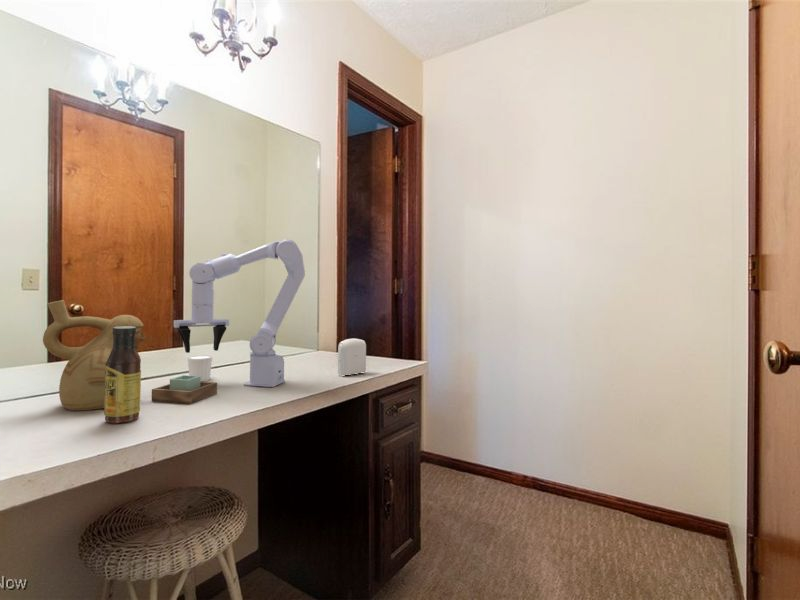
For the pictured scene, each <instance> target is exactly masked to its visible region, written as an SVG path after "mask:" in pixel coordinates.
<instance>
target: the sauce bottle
mask: <svg viewBox="0 0 800 600" xmlns="http://www.w3.org/2000/svg"><path fill="white" fill-rule="evenodd" d="M135 334H136V327H133V326H118V327H114V328H113V335H114V338H113V348H112V351H111V353H110V355H109V358H108V360H107V363H106V365H105V404H104V408H103V410H104V411H103V412H104V420H105V422H106V423H109V424H113V425H115V424H124V423H129V422H133V421H135V420H138V418H139V417H140V411H141V387H142V386H141V384H142V370H141V363H142V362H141V361H142V359H141V356H140V354H139V352H137V350H135V348H134V347H135Z"/></svg>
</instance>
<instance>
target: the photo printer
mask: <svg viewBox="0 0 800 600" xmlns="http://www.w3.org/2000/svg"><path fill="white" fill-rule="evenodd" d="M337 347H338V348H337V375H338V374H339V375H349V374H355V373H361V372H365V371H366V372H367V370H366V369H367V368H366V367H367V344H366V341H365V340H363V339H360V338H355V337H354V338H347V339H344V340H342V341H340V342H339V343H338V346H337ZM366 372H365V373H366ZM339 375H338V376H339Z"/></svg>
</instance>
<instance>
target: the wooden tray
mask: <svg viewBox="0 0 800 600" xmlns="http://www.w3.org/2000/svg"><path fill="white" fill-rule="evenodd" d="M217 394H218V382H217V381H216V382H213V381H200V388H197V389H194V390H191V391H182V390H170V383H169V384H166V385H161V386H159V387H155V388H152V389H151V402H155V403H156V402H157V403H169V404H179V405H180V404H182V405H183V404H184V405H191V404H195V403H196V402H200V401H202V400H204V399H206V398H209V397H212V396H215V395H217Z"/></svg>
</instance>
